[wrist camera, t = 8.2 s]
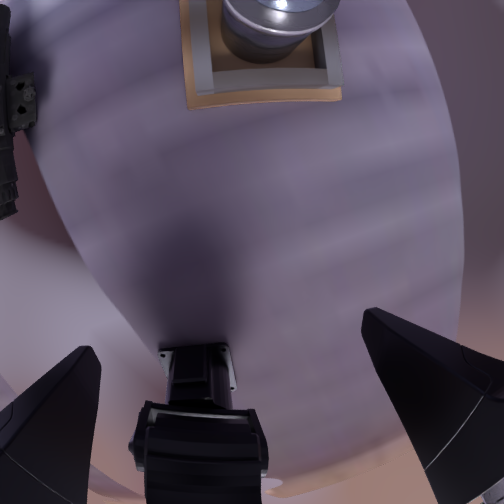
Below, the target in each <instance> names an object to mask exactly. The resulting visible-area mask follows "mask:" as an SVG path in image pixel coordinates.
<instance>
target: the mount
mask: <svg viewBox="0 0 504 504" xmlns="http://www.w3.org/2000/svg"><path fill="white" fill-rule="evenodd" d="M179 4H180V23H181V39H182V53H183V65H184V77H185V88H186V98H187V108H188V109H189V110H196V109H203V108H210V107H219V106H228V105H238V104H250V103H265V102H288V101H331V102H334V101H338V100H342V95H341V86H343V85H344V81H343V72H342V64H341V56H340V49H339V43H338V36H337V30H336V24H335V19H334V14H333V15H332V17H331V18H330V19H329V20H328V21H327V22H326V23H325V24H324V25H323V26H322V27H320V28H319V29H318V30H316V31H314V32H312V33H311V34H310V35H309V36H308V37H307V38H306V39H305V40H304V41H303V42H302V43H301V44H300V45H299V46H298V47H297V48H296V49H295V50H294V51H293V52H292V53H291V54H289V55H288V56H287V57H286V58H284V59H282V60H280V61H278V62H274V63H270V64H255V63H250V62H247V61H244V60H242V59H240V58H238V57H236V56H235V55H234V54H232V53H231V52H230V51H229V50H228V49H227V47H226V46H225V44H224V42H223V40H222V37H221V18H222V5H223V0H179Z"/></svg>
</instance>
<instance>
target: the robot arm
mask: <svg viewBox="0 0 504 504" xmlns="http://www.w3.org/2000/svg"><path fill="white" fill-rule="evenodd" d="M361 334H362V337H363V340H364V342H365V345H366V347H367V350H368V352H369V355H370V357H371V360H372V362H373V365H374V368H375V370H376V372H377V374H378V376H379V378H380V380H381V382H382V384H383V386H384V388H385V390H386V392H387V394H388V396H389V398H390V400H391V402H392V404H393V406H394V408H395V410H396V412H397V414H398V416H399V418H400V420H401V422H402V424H403V426H404V428H405V430H406V432H407V434H408V436H409V438H410V440H411V443H412V445H413V447H414V449H415V451H416V453H417V455H418V457H419V460H420V462H421V464H422V466H423V469H424V470H425V474H426V476H427V478H428V481H429V483H430V485H431V487H432V490H433V492H434V495H435V497H436V499H437V502H438V504H468V503H470V502H471V501H473V500H474V499H476V498H477V497H479V496H481V497H482V499H483V502H482V503H481V504H504V361H502V360H498V359H495V358H493V357H490V356H487V355H485V354H482V353H479V352H477V351H474V350H472V349H470V348H468V347H465V346H463V345H460V344H459V343H456V342H454V341H452V340H450V339H447V338H445V337H443V336H441V335H438V334H436V333H434V332H431V331H429V330H427V329H425V328H422V327H420V326H418V325H416V324H413V323H411V322H409V321H407V320H404V319H402V318H400V317H398V316H395V315H393V314H391V313H389V312H386V311H384V310H382V309H380V308H377V307H374V308H369V309H366V310H365V311H364V314H363V320H362V327H361ZM222 348H224V349H222ZM163 354H165V355H163ZM158 358H159V360H160V363H161V365H162V368H163V370H164V372H165V375H166V377H167V379H168V381H167V390H166V398H165V404H160V403H153V402H152V401H147V400H146V401H145V405H144V408H143V407H142V409H141V412H139V416H138V422H137V427H136V430H135V432H134V434H133V436H132V438H131V440H130V442H129V446H128V448H129V451H130V452H131V453H132V455H133V456H134V460H135V463H136V468H137V471H141V472H144V484H145V485H144V486H145V498H146V503H147V504H262V501H261V478H264V477H265V476H266V474H267V470H268V461H269V457H268V446H267V442H266V438H265V436H264V433H263V430H262V428H261V425H260V422H259V420H258V417H257V414H256V412H255V409H247V410H233V407H232V398H231V392H232V391H235V390H236V389H237V385H236V380H235V375H234V370H233V365H232V360H231V355H230V350H229V346H228V344H227V343H214V344H206V345H197V346H187V347H176V348H164V349H160V350H159V351H158ZM100 379H101V364H100V362H99V360H98V358H97V356H96V354H95V352H94V350H93V348H92V347H91V346H79V347H78V348H77V349H75V350H74V351H73V352H72V353H70V354H69V355H68V356H67V357H65V358H64V359H63V360H62V361H60V363H58V364H57V365H55V366H54V367H53V368H52V369H51V370H49V371H48V372H47V373H46V374H45V375H43V376H42V377H41V378H40V379H38V380H37V381H36V382H35V383H34V384H32V385H31V386H30V387H29V388H28V389H26V390H25V391H24V392H23V393H22V394H21V395H19V396H18V397H17V398H16V399H15V400H14V402H11V403H10V404H9V405H8V406H7V407H5V408H4V409H3V410H2V411H1V412H0V504H87V492H88V479H89V468H90V458H91V450H92V442H93V436H94V429H95V423H96V417H97V410H98V402H99V390H100Z"/></svg>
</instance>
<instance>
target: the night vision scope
mask: <svg viewBox="0 0 504 504" xmlns="http://www.w3.org/2000/svg"><path fill="white" fill-rule="evenodd" d="M10 17H11V11H10V8H9V7H7V6H6V5H3V4H0V220H3V219H4V218H7V217H9V216H11V215H13V214H15V213H17V212H18V210H16V206H15V202H14V201H15V199H17V198H18V197H19V196H18V192H17V187H16V181H17V180H18V177H17V172H16V167H15V161H14V156H13V150H14V146H13V137H14V136H15V132H17V131H20V130H23V129H26V128H30V127H33V126H35V122H34V121H36V105H35V95H36V92H35V87H34V72H31V73H27V74H23V75H20V76H16V77H13V78H12V75H9V55H10V41H11V37H10V36H9V33H8V32H9V24H10Z"/></svg>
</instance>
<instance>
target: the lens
mask: <svg viewBox="0 0 504 504" xmlns="http://www.w3.org/2000/svg"><path fill="white" fill-rule="evenodd" d="M339 2H340V0H223V5H222V18H221V37H222V40H223V42H224V44H225V46H226V47H227V49H228V50H229V51H230V52H231V53H232V54H234V55H235V56H236V57H238V58H240V59H242V60H244V61H247V62H250V63H255V64H270V63H274V62H278V61H280V60H282V59H284V58H286V57H287V56H288V55H289V54H291V53H292V52H293V51H294V50H295V49H296V48H297V47H298V46H299V45H300V44H301V43H302V42H303V41H304V40H305V39H306V38H307V37H308V36H309V35H310V34H311V33H312V32H314V31H316V30H318V29H319V28H320V27H322V26H323V25H324V24H325V23H326V22H327V21H328V20H329V19H330V18H331V17H332V15H333V14H334V12H335V10H336V9H337V7H338V5H339Z"/></svg>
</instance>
